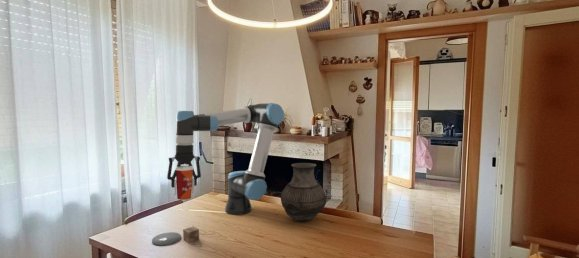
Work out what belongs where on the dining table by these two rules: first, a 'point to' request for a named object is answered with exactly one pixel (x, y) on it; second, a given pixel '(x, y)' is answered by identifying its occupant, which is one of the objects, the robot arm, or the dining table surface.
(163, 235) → the slate coaster
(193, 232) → the walnut cube
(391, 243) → the dining table surface
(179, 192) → the coffee cup
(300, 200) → the vase
